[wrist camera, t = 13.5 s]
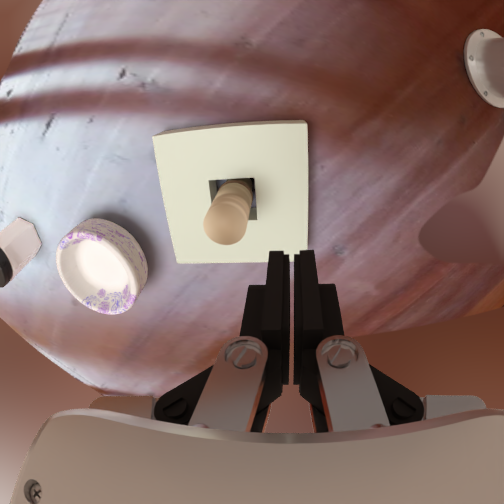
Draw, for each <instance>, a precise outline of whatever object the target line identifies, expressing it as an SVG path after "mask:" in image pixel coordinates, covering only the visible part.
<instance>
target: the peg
mask: <svg viewBox="0 0 504 504" xmlns="http://www.w3.org/2000/svg"><path fill="white" fill-rule="evenodd" d="M252 201H253V194H252V181H251V180H250V178H236V179H227V181H226V182H225V183H224V184H222V185H221V187H220V188H219V190H218V192H217V194H216V196H215V198H214V200H213V202H212V204H211V206H210V208H209V210H208V212H207V214H206V216H205V218H204V221H203V227H204V231H205V233H206V235H207V236H208V237H209V238H210V239H211V240H212V241H214V242H215V243H218V244H221V245H232V244H235V243H237V242H239V241H240V240H241V239H242V238H243V236H244V235H245V232H246V228H247V223H248V218H249V213H250V208H251V205H252Z"/></svg>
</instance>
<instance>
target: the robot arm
mask: <svg viewBox="0 0 504 504" xmlns="http://www.w3.org/2000/svg"><path fill="white" fill-rule="evenodd" d="M464 61H465V67H466V70H467V74H468V76H469V79H470V81H471V83H472V85H473V87H474V89H475V90H476V92H477V93H478V94H479V96H480V97H481V98H482V99H483V100H484V101H486V102H487V103H488V104H490V105H492V106H495V107H498V108H504V38H502V37H501V36H500V35H498V34H497V33H495V32H494V31H491V30H488V29H479V30H475V31H473V32H472V33H471V34H469V36H468V38H467V39H466V42H465V47H464ZM289 349H290V259H289V254H284V251H269V259H268V269H267V279H266V285H249V287H248V292H247V298H246V303H245V309H244V314H243V320H242V326H241V331H240V337H236V338H233V339H231V340H229V341H228V342H227V343H225V344H224V345H223V347H222V348H221V350H220V352H219V354H218V357H217V359H216V361H215V364H214V365H213V366H211V367H209V368H208V369H206V370H204V371H203V372H201V373H199V374H198V375H196V376H194V377H193V378H191V379H189V380H188V381H186V382H184V383H183V384H181V385H179V386H177V387H176V388H174V389H172V390H170V391H169V392H167V393H165V394H164V395H163V396H161V397H160V398H154V397H153V396H152V395H150V396H102V397H99V398H97V399H95V400H94V401H93V402H92V403H91V404H90V406H89V409H87V408H86V409H71V410H66V411H61V412H58V413H56V414H54V415H52V416H50V417H49V418H48V419H47V420H46V421H45V423H44V424H43V425H42V426H41V428H40V430H39V431H38V433H37V435H36V436H35V438H34V440H33V442H32V444H31V446H30V448H29V450H28V453H27V455H26V457H25V460H24V462H23V465H22V467H21V470H20V473H19V476H18V479H17V482H16V485H15V488H14V491H13V495H12V498H11V501H10V504H504V410H499V409H486V406H485V404H484V402H483V401H482V400H481V399H480V398H478V397H476V396H439V395H427V396H426V397H425V398H420V397H419V396H417V395H416V394H415V393H414V392H412V391H410V390H409V389H407V388H405V387H404V386H403V385H401V384H399V383H398V382H396V381H394V380H393V379H391V378H390V377H388V376H386V375H385V374H383V373H382V372H381V371H379V370H377V369H376V368H374V367H373V366H371V365H370V364H368V361H367V358H366V356H365V353H364V351H363V348H362V347H361V345H360V344H359V343H358V342H357V341H356V340H355V339H353V338H351V337H348V336H344V331H343V325H342V319H341V313H340V307H339V302H338V296H337V291H336V286H335V284H318V277H317V269H316V262H315V254H314V250H300V251H299V254H294V383H293V384H294V385H298V384H299V392H300V395H301V396H302V397H303V398H304V399H306V400H307V401H308V402H309V408H310V413H311V419H312V425H313V430H314V433H264V432H265V429H266V425H267V421H268V417H269V414H270V410H271V403H272V402H273V401H274V400H276V399H277V398H278V397H280V396H281V393H282V386H283V385H288V382H289Z"/></svg>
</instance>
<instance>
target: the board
mask: <svg viewBox="0 0 504 504" xmlns="http://www.w3.org/2000/svg"><path fill="white" fill-rule="evenodd" d="M152 138H153V145H154V151H155V157H156V163H157V169H158V174H159V180H160V185H161V190H162V196H163V201H164V206H165V211H166V215H167V220H168V225H169V229H170V234H171V238H172V243H173V247H174V252H175V256H176V260H177V263H241V262H268V259H269V251H284V254H289V259H290V262H293V261H294V254H299V251H300V250H307V238H308V132H307V123H306V122H305V121H304V120H278V121H255V122H239V123H227V124H216V125H207V126H198V127H190V128H182V129H175V130H169V131H163V132H161V133H159V134H156V135H154V136H152ZM236 178H255V192H256V206H257V208H250V213H249V218H248V223H247V228H246V232H245V235H244V236H243V238H242V239H241V240H240V241H239V242H237V243H235V244H232V245H221V244H218V243H215V242H214V241H212V240H211V239H210V238H209V237H208V236H207V235H206V233H205V231H204V227H203V221H204V218H205V216H206V214H207V212H208V210H209V208H210V206H211V204H212V202H213V200H214V198H215V196H216V194H217V186H216V180H220V179H236Z"/></svg>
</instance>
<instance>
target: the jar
mask: <svg viewBox="0 0 504 504" xmlns="http://www.w3.org/2000/svg"><path fill="white" fill-rule="evenodd" d="M41 244H42V243H41V241H40V239H39V237H38V234H37V232H36V230H35V227H34V225H33V224H32V223H30V222H28V221H26V220H23V219H21V218H17V219H16V220H15V221H13V222H12V223H11V224H9V225H8V226H7V227H6V228H4V229H3V230H2V231H1V232H0V287H4V286H5V285H6V284H8V283H9V281H11V280H12V279H13V278H14V277H15V276H16V275H17V274H18V273H19V272H20V271H21V270H22V269H23V268H24V267H25V266H26V265H27V264H28V263H29V262H30V261H31V260H32V259H33V258H34V257H35V256H36V254H37V252H38V250H39V248H40V246H41Z"/></svg>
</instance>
